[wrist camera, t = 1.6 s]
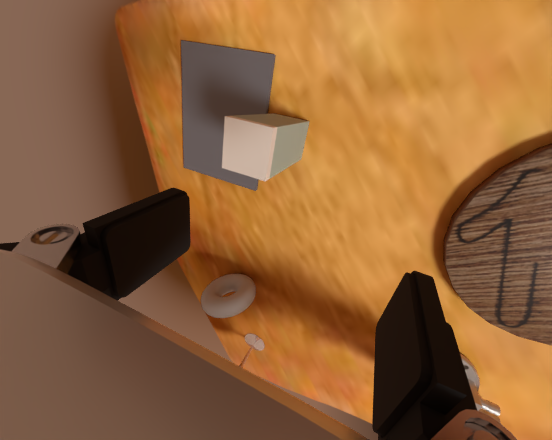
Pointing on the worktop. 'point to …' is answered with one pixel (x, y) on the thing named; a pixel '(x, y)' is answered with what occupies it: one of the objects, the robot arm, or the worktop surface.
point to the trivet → (507, 247)
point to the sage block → (262, 144)
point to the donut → (230, 304)
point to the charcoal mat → (220, 102)
